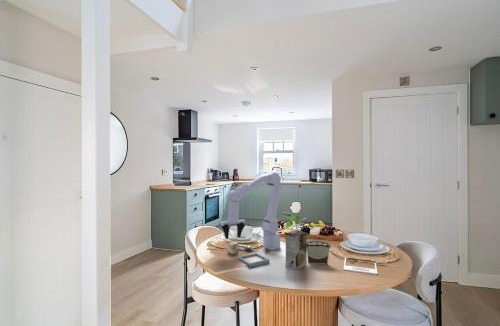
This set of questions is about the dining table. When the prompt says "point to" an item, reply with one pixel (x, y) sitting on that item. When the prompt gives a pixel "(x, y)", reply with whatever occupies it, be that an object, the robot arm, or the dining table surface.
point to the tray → (254, 264)
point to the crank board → (241, 251)
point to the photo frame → (360, 269)
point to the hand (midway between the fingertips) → (232, 237)
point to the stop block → (233, 247)
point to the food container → (317, 252)
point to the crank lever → (242, 245)
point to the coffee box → (296, 249)
